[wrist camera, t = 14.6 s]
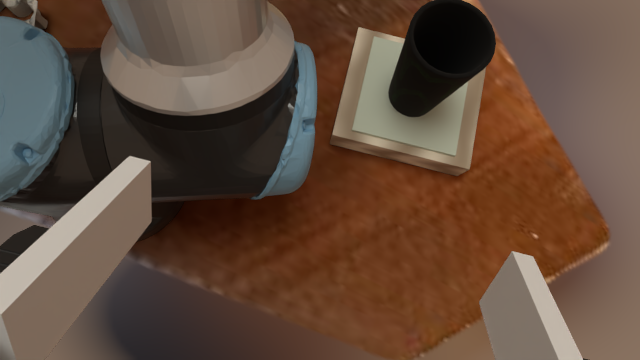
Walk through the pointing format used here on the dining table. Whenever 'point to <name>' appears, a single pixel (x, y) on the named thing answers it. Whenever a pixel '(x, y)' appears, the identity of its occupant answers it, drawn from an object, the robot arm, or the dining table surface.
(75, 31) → the dining table surface
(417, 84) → the cup
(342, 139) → the stand
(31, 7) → the egg carton
